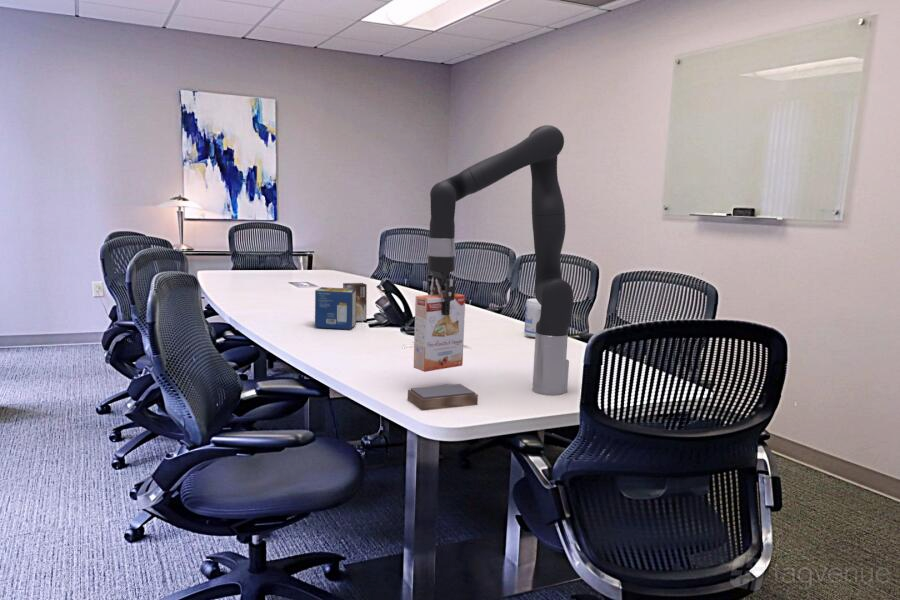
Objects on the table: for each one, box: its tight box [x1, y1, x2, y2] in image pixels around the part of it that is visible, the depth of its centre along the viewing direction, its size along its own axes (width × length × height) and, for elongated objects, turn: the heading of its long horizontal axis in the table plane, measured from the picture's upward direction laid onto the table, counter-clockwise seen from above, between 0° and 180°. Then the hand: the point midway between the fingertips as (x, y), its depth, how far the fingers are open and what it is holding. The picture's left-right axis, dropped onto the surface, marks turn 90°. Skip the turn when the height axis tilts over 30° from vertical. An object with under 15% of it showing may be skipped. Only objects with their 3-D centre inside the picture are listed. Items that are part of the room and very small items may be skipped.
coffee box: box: [342, 282, 368, 322], centre depth 300 cm, size 9×6×16 cm
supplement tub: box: [523, 298, 541, 338], centre depth 280 cm, size 10×10×15 cm
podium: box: [407, 383, 479, 411], centre depth 183 cm, size 16×10×4 cm, turn 116°
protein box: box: [314, 286, 357, 330], centre depth 284 cm, size 10×15×16 cm
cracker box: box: [413, 293, 466, 373], centre depth 194 cm, size 14×6×21 cm, turn 129°
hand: (440, 312), depth 193 cm, fingers closed on cracker box, 6 cm apart
